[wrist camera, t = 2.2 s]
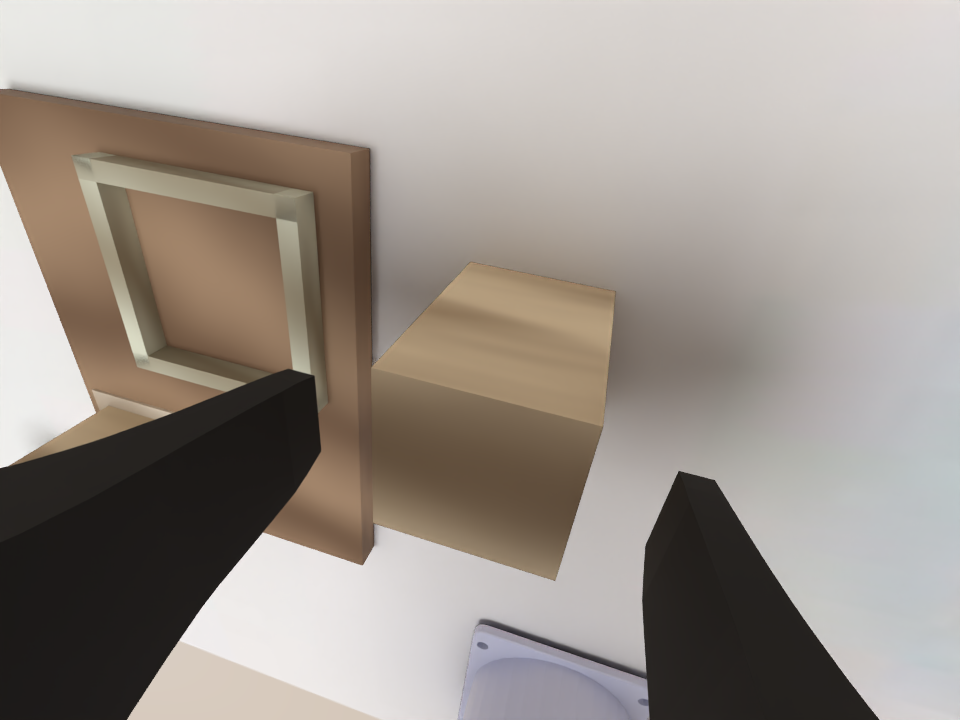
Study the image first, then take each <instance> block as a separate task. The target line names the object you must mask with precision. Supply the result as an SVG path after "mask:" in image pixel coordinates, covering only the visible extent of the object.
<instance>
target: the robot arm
mask: <svg viewBox="0 0 960 720" xmlns="http://www.w3.org/2000/svg"><path fill="white" fill-rule="evenodd" d="M320 453H321V441H320V429H319V418H318V407H317V395H316V384H315V376H314V375H311V374H307V373H303V372H299V371H295V370H292V369H286V370H283V371H280V372H277V373H274V374H271V375H268V376H266V377H263V378H260V379H258V380H255V381H253V382H250V383H247V384H245V385H242V386H240V387H237V388H235V389H232V390H230V391H227V392H225V393H222V394H220V395H217V396H215V397H212V398H210V399H207V400H205V401H202V402H200V403H197V404H195V405H192V406H190V407H187V408H185V409H182V410H180V411H177V412H174V413H172V414H169V415H166V416H163V417H161V418H158V419H155V420H152V421H150V422H147V423H144V424H141V425H139V426H136V427H133V428H130V429H127V430H125V431H122V432H119V433H116V434H114V435H111V436H108V437H105V438H102V439H99V440H96V441H93V442H90V443H87V444H83V445H80V446H77V447H74V448H71V449H67V450H64V451H61V452H57V453H54V454H50V455H47V456H43V457H40V458H37V459H33V460H30V461H26V462H23V463H19V464H15V465H12V466H8V467H3V468H0V720H127V719H128V717H129V715H130V714H131V712H132V710H133V709H134V707H135V706H136V704H137V703H138V702H139V700H140V698H141V697H142V695H143V694H144V692H145V691H146V689H147V688H148V686H149V685H150V683H151V682H152V680H153V679H154V677H155V675H156V674H157V672H158V671H159V669H160V668H161V666H162V665H163V663H164V662H165V660H166V659H167V657H168V656H169V654H170V653H171V651H172V650H173V648H174V647H175V646H176V644H177V642H178V641H179V640H180V638H181V637H182V635H183V634H184V632H185V631H186V630H187V628H188V627H189V625H190V624H191V622H192V621H193V619H194V618H195V616H196V615H197V614H198V612H199V611H200V609H201V608H202V606H203V605H204V604H205V603H206V601H207V600H208V599H209V597H210V596H211V595H212V593H213V592H214V591H215V590H216V588H217V587H218V586H219V584H220V583H221V582H222V581H223V580H224V578H225V577H226V576H227V575H228V574H229V572H230V571H231V570H232V569H233V568H234V566H235V565H236V564H237V563H238V562H239V560H240V559H241V558H242V557H243V556H244V554H245V553H246V552H247V551H248V550H249V548H250V547H251V546H252V545H253V544H254V542H255V541H256V540H257V539H258V538H259V536H260V535H261V534H262V533H263V532H264V530H265V529H266V528H267V527H268V526H269V524H270V523H271V522H272V521H273V520H274V518H275V517H276V516H277V515H278V513H279V512H280V511H281V510H282V509H283V507H284V506H285V505H286V504H287V502H288V501H289V500H290V499H291V497H292V496H293V495H294V494H295V492H296V491H297V489H298V488H299V486H300V485H301V483H302V482H303V480H304V479H305V477H306V476H307V474H308V472H309V471H310V469H311V467H312V466H313V464H314V462H315V461H316V459H317V458H318V456H319V454H320ZM642 604H643V623H644V640H645V657H646V672H647V679H644V678H641V677H638V676H635V675H632V674H629V673H626V672H623V671H620V670H617V669H614V668H611V667H608V666H605V665H603V664H600V663H597V662H594V661H591V660H588V659H585V658H582V657H579V656H576V655H573V654H570V653H567V652H564V651H562V650H559V649H556V648H553V647H550V646H547V645H544V644H541V643H538V642H535V641H532V640H529V639H526V638H523V637H521V636H518V635H515V634H512V633H509V632H506V631H503V630H500V629H497V628H494V627H491V626H488V625H484V624H481V625H478V626H476V628H475V630H474V634H473V639H472V644H471V650H470V655H469V661H468V666H467V671H466V677H465V682H464V688H463V693H462V699H461V704H460V710H459V715H458V720H648V718H649V719H650V720H879V719H878V717H877V716H876V715H875V714H874V712H873V711H872V710H871V709H870V708H869V706H868V705H867V704H866V702H865V701H864V700H863V699H862V697H861V696H860V695H859V693H858V692H857V691H856V689H855V688H854V687H853V686H852V684H851V683H850V682H849V680H848V679H847V678H846V676H845V675H844V674H843V672H842V671H841V670H840V668H839V667H838V666H837V664H836V663H835V661H834V660H833V659H832V657H831V656H830V655H829V653H828V652H827V650H826V649H825V648H824V646H823V645H822V644H821V642H820V641H819V640H818V638H817V637H816V635H815V634H814V633H813V631H812V630H811V629H810V627H809V626H808V624H807V623H806V621H805V620H804V619H803V617H802V616H801V614H800V613H799V611H798V610H797V608H796V607H795V606H794V604H793V603H792V601H791V600H790V598H789V597H788V595H787V594H786V592H785V591H784V589H783V588H782V586H781V585H780V583H779V582H778V580H777V579H776V577H775V576H774V574H773V573H772V571H771V570H770V568H769V566H768V565H767V563H766V562H765V560H764V559H763V557H762V556H761V554H760V552H759V551H758V549H757V548H756V546H755V544H754V543H753V541H752V540H751V538H750V536H749V535H748V533H747V532H746V530H745V528H744V527H743V525H742V524H741V522H740V520H739V519H738V517H737V515H736V514H735V512H734V511H733V509H732V507H731V506H730V504H729V502H728V501H727V499H726V498H725V496H724V494H723V493H722V491H721V489H720V488H719V486H718V485H717V483H716V481H715V480H712V479H708V478H704V477H700V476H696V475H692V474H689V473H685V472H681V471H679V472H678V474H677V476H676V478H675V481H674V483H673V485H672V487H671V490H670V492H669V494H668V496H667V499H666V501H665V503H664V505H663V507H662V510H661V512H660V514H659V516H658V519H657V521H656V523H655V525H654V528H653V530H652V532H651V534H650V537H649V539H648V541H647V543H646V546H645V560H644V575H643V596H642Z"/></svg>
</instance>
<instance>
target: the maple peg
mask: <svg viewBox="0 0 960 720" xmlns="http://www.w3.org/2000/svg"><path fill="white" fill-rule="evenodd" d="M615 293H616V291H611V290H606V289H601V288H596V287H591V286H586V285H581V284H576V283H572V282H567V281H562V280H557V279H552V278H547V277H542V276H537V275H532V274H527V273H522V272H517V271H512V270H507V269H503V268H498V267H493V266H488V265H483V264H478V263H473V262H470V263H469V264H468V265H467V266H466V267H465V268H464V269H463V270H462V272H461V273H460V274H459V275H458V276H457V277H456V278H455V279H454V280H453V281H452V282H451V283H450V284H449V285H448V286H447V287H446V289H445V290H444V291H443V292H442V293H441V294H440V295H439V296H438V297H437V298H436V299H435V300H434V301H433V302H432V303H431V304H430V306H429V307H428V308H427V309H426V310H425V311H424V312H423V313H422V314H421V315H420V316H419V317H418V318H417V319H416V320H415V321H414V323H413V324H412V325H411V326H410V327H409V328H408V329H407V330H406V331H405V332H404V333H403V334H402V335H401V336H400V337H399V339H398V340H397V341H396V342H395V343H394V344H393V345H392V346H391V347H390V348H389V349H388V350H387V351H386V352H385V353H384V354H383V356H382V357H381V358H380V359H379V360H378V361H377V362H376V363H375V364H374V365H373V366H372V367H371V401H372V485H373V523H374V524H377V525H380V526H384V527H387V528H390V529H393V530H396V531H399V532H402V533H406V534H409V535H412V536H415V537H418V538H421V539H425V540H428V541H431V542H434V543H437V544H440V545H443V546H447V547H450V548H453V549H456V550H459V551H462V552H466V553H469V554H472V555H475V556H478V557H481V558H484V559H488V560H491V561H494V562H497V563H500V564H503V565H506V566H510V567H513V568H516V569H519V570H522V571H525V572H529V573H532V574H535V575H538V576H541V577H544V578H547V579H551V580H554V581H555V580H556V577H557V574H558V570H559V567H560V564H561V561H562V557H563V554H564V551H565V548H566V545H567V541H568V538H569V535H570V532H571V529H572V525H573V522H574V519H575V516H576V512H577V509H578V506H579V503H580V500H581V496H582V493H583V490H584V487H585V483H586V480H587V477H588V474H589V471H590V467H591V464H592V461H593V458H594V455H595V451H596V448H597V445H598V442H599V438H600V435H601V432H602V429H603V423H604V412H605V401H606V390H607V380H608V369H609V358H610V347H611V336H612V326H613V315H614V304H615Z"/></svg>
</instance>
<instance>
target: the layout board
mask: <svg viewBox="0 0 960 720" xmlns="http://www.w3.org/2000/svg"><path fill="white" fill-rule="evenodd" d="M0 166H1V168H2V171H3V173H4V176H5V179H6V181H7V184H8V186H9V189H10V191H11V194H12V197H13V199H14V202H15V204H16V207H17V210H18V212H19V215H20V217H21V220H22V222H23V225H24V228H25V230H26V233H27V235H28V238H29V241H30V243H31V246H32V248H33V251H34V253H35V256H36V259H37V261H38V264H39V266H40V269H41V271H42V274H43V277H44V279H45V282H46V284H47V287H48V290H49V292H50V295H51V297H52V300H53V302H54V305H55V308H56V310H57V313H58V315H59V318H60V321H61V323H62V326H63V328H64V331H65V333H66V336H67V339H68V341H69V344H70V346H71V349H72V351H73V354H74V357H75V359H76V362H77V364H78V367H79V370H80V372H81V375H82V377H83V380H84V382H85V385H86V388H87V390H88V393H89V395H90V398H91V401H92V403H93V406H94V408H95V411H96V414H94V415H92V416H91V417H89V418H87V419H86V420H84V421H82V422H81V423H79V424H77V425H76V426H74V427H72V428H71V429H69V430H67V431H66V432H64V433H62V434H61V435H59V436H58V437H56V438H54V439H53V440H51V441H49V442H48V443H46V444H44V445H43V446H41V447H39V448H38V449H36V450H34V451H33V452H31V453H29V454H28V455H26V456H24V457H23V458H21V459H19V460H18V461H16V462H15V463H13V464H11V465H10V466H12V465H15V464H19V463H23V462H26V461H30V460H33V459H37V458H40V457H43V456H47V455H50V454H54V453H57V452H61V451H64V450H67V449H71V448H74V447H77V446H80V445H83V444H87V443H90V442H93V441H96V440H99V439H102V438H105V437H108V436H111V435H114V434H116V433H119V432H122V431H125V430H127V429H130V428H133V427H136V426H139V425H141V424H144V423H147V422H150V421H152V420H155V419H158V418H161V417H163V416H166V415H169V414H172V413H174V412H177V411H180V410H182V409H185V408H187V407H190V406H192V405H195V404H197V403H200V402H202V401H205V400H207V399H210V398H212V397H215V396H217V395H220V394H222V393H225V392H227V391H230V390H232V389H235V388H237V387H240V386H242V385H245V384H247V383H250V382H253V381H255V380H258V379H260V378H263V377H266V376H268V375H271V374H274V373H277V372H280V371H283V370H286V369H292V370H295V371H299V372H303V373H307V374H311V375H314V376H315V384H316V395H317V407H318V418H319V429H320V441H321V453H320V454H319V456H318V458H317V459H316V461H315V462H314V464H313V466H312V467H311V469H310V471H309V472H308V474H307V476H306V477H305V479H304V480H303V482H302V483H301V485H300V486H299V488H298V489H297V491H296V492H295V494H294V495H293V496H292V497H291V499H290V500H289V501H288V502H287V504H286V505H285V506H284V507H283V509H282V510H281V511H280V512H279V513H278V515H277V516H276V517H275V518H274V520H273V521H272V522H271V523H270V524H269V526H268V527H267V528H266V529H265V530H264V533H267V534H270V535H273V536H276V537H279V538H282V539H285V540H288V541H291V542H294V543H297V544H300V545H303V546H306V547H309V548H312V549H315V550H318V551H321V552H324V553H327V554H330V555H333V556H336V557H339V558H342V559H345V560H348V561H351V562H354V563H357V564H360V565H363V564H364V562H365V561H366V559H367V557H368V555H369V554H370V552H371V550H372V548H373V547H374V530H373V485H372V401H371V367H372V339H371V244H370V149H368V148H362V147H356V146H350V145H344V144H338V143H332V142H326V141H320V140H314V139H308V138H302V137H296V136H290V135H284V134H278V133H272V132H265V131H259V130H253V129H247V128H241V127H235V126H229V125H223V124H217V123H211V122H205V121H199V120H193V119H187V118H181V117H175V116H169V115H163V114H157V113H151V112H145V111H138V110H132V109H126V108H120V107H114V106H108V105H102V104H96V103H90V102H84V101H78V100H72V99H66V98H60V97H54V96H48V95H42V94H36V93H30V92H24V91H18V90H12V89H0Z"/></svg>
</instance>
